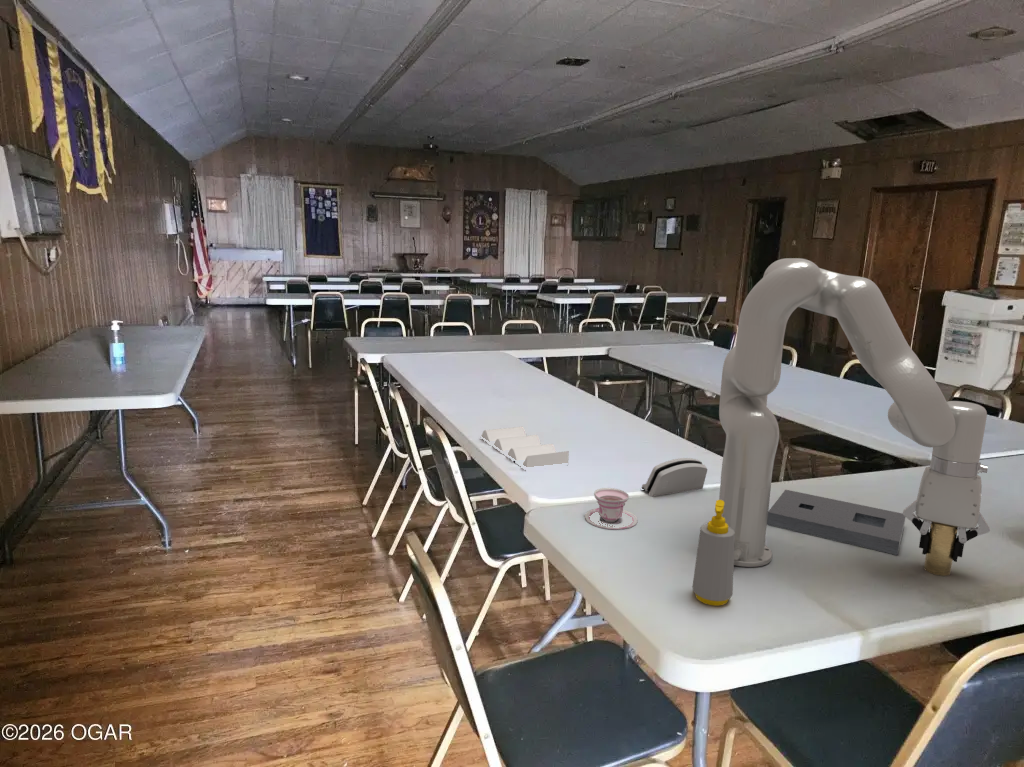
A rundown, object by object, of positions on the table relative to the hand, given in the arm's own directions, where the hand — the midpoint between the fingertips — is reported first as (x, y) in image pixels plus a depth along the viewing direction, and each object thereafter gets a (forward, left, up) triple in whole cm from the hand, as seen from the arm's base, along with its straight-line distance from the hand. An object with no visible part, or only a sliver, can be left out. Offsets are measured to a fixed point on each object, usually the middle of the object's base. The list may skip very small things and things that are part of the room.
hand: (939, 554), depth 130 cm
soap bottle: (-37, +33, -4) cm, 50 cm away
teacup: (-16, +63, -4) cm, 65 cm away
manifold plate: (+12, +20, -3) cm, 24 cm away
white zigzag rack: (+15, +108, -4) cm, 109 cm away
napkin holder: (+11, +58, -4) cm, 59 cm away
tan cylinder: (0, 0, -3) cm, 3 cm away
